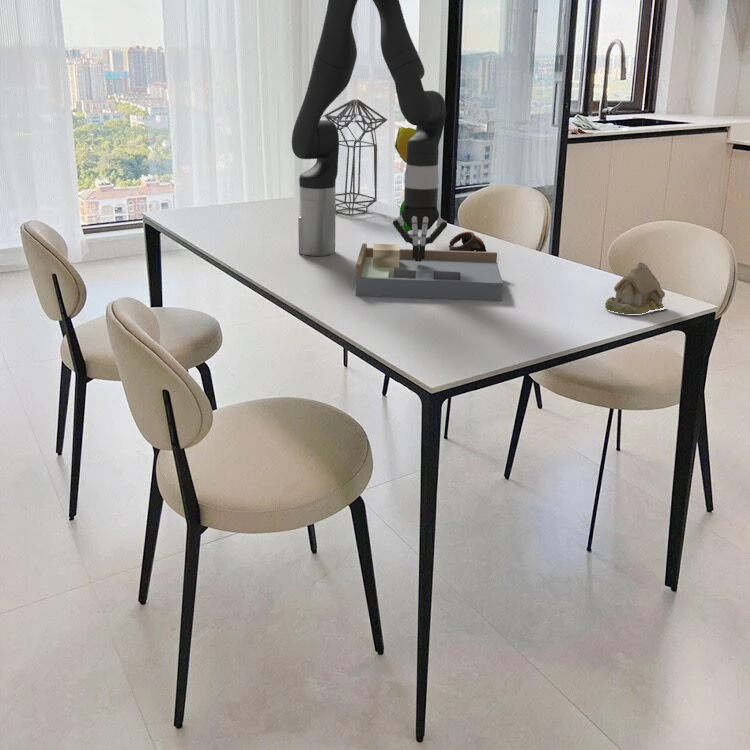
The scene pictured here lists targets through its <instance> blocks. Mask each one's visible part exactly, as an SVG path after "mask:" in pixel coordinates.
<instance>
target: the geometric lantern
mask: <svg viewBox="0 0 750 750" xmlns="http://www.w3.org/2000/svg"><path fill="white" fill-rule="evenodd" d="M339 110H341V111H340V112H339V113H338V114H337V115H331V114H334V113H336V112H337V111H339ZM371 112H372V113H373V114H375V115H377V116H378V117H380V118H376V117H375V116H374V115H373V114H372V113H371ZM363 113H364V114H365V115H363ZM357 116H359V117H361V120H360V119H359V120H357ZM324 117H325V120H329V121H332V122H333V123H334V124H335V125H336V127H337V130H338V131H339V132H340V134H341V136H342V139H343V140H339V146H342V147H346V148H347V155H346V170H345V184H344V185H345V187H344V188H345V189H344V192H342V193H336V195H335V202H340V203H335V213H336V214H338V213H339V214H342V215H345V216H355V215H363V214H367V213H368V211H369V209H368V208H369V207H370V206H372V205H373V204H374V203H376V202H377V201H378V197H377V196H378V195H377V194H378V193H377V192H378V191H377V189H378V188H377V187H378V186H377V185H378V184H377V183H378V182H377V181H378V179H377V178H378V176H377V175H378V144H377V135H376V134H377V133H376V130H377V129H378V128H380V127H381V126H382V125H383V124H385V122H387V121H388V118H387V117H384V116H383V115H381V114H380V113H379V112H377V111H376V110H374V109H373V108H372V107H370V106H368V105H367V104H366V103H364V102H363V101H361V100H360V99H357V98H356V99H355V98H353V99H351V100H350V101H349V100H348V101H347V102H346V103H344V104H342V105H340V106H338V107H337V108H335V109H332V110H331V111H329V112H327V113H326V114H323V115H322V117H321V118H324ZM343 118H345V119H343ZM349 118H350V119H349ZM354 119H355V120H354ZM366 119H367V120H369V122H367V120H366ZM340 123H344V124H340ZM351 123H355V124H356V125H357V126H358V127H359V128H360V129H361V131H362V133H361V135H360V136H359V137H358V139H357V138H356V136H354V134H353V132H352V130H351V129H350V127H349V125H350V124H351ZM360 123H362V124H363V126H362V125H361V124H360ZM377 123H378V124H377ZM373 125H374V127H373ZM366 126H367V127H366ZM344 128H347V129H348V130H349V132H350V134H351V136H352V137H353V138H354V139H350V140H349V139H346V137H345V134H344V133H343V131H342V130H343V129H344ZM366 133H370V134H371V140H372V142H368V141H362V139H363V137H364V136H365V135H366ZM348 142H353V145H349V143H348ZM341 143H345V144H341ZM357 143H359V144H358V145H357ZM362 143H363V144H368V145H362ZM364 147H366V148H367V147H369V148H370V147H373V172H374V173H373V175H374V179H373V180H374V196H370V195H367V194H363V193H360V192H361V191H360V190H361V187H360V186H361V159H362V157H361V156H362V155H361V152H362V148H364ZM350 148H352V163H351V176H350V185H349V192H348V179H349V178H348V177H349V161H350ZM356 148H358V177H357V178H358V180H357V181H358V182H357V183H358V184H357V192H356V191H355V189H356V187H355V186H356V184H355V182H356V177H355V175H356V174H355V173H356V167H355V164H356ZM347 195H348V196H349V201H347ZM351 195H352V196H351ZM336 196H344V200H342V199H339V198H336ZM358 196H361V197H365V198H369V200H360V201H359V200H357V198H358ZM351 197H352V198H351ZM370 199H371V200H370ZM356 200H357V201H356ZM363 203H368V204H363ZM342 205H345V206H342ZM351 205H352V206H351ZM355 205H359V206H360V207H354V206H355ZM361 206H362V207H361ZM337 207H340V208H341V209H337ZM364 209H365V210H364ZM345 210H348V213H347V212H341V211H345ZM354 210H356V211H361V212H357V213H354ZM351 211H352V213H351Z"/></svg>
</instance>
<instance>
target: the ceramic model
mask: <svg viewBox="0 0 750 750" xmlns="http://www.w3.org/2000/svg"><path fill="white" fill-rule="evenodd" d="M613 290H614V292H615V297H614V296H611V297H609V298H608V299H606V301H605V304H604V305H605V309H606V308H607V310H610V311H614V312H618V313H624V314H642V313H646V312H648V311H649V310H655V309H660V308H663V307H664V306H665V305H664V304H663V298H665V296H666V293H665V291H664V290H663V289H662V287H661V283H660V282H659V281H658V278H656V276H655V275H654V274H653V273H652V271H651V269H650V268H649V267H648V264H645V262H644V263H643V262H638V264H637V266H636V268H633V269H631V270H630V271H629V272H628V273H627V274H626V275H625V276H623V277H622V278H621V279H620V280H619V281H618V282H617V283H616V284H615V286H614V287H613ZM663 305H664V306H663ZM607 310H606V311H607Z"/></svg>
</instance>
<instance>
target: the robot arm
mask: <svg viewBox="0 0 750 750" xmlns="http://www.w3.org/2000/svg"><path fill="white" fill-rule="evenodd" d="M372 2H373V3H374V6H375V7H376V9H377V11H378V12H377V13H378V15H379V20H380V21H379V22H380V49H381V54H382V57H383V60H384V62H385V65H386V67H387V69H388V71H389V72H390V76H391V77H392V80H393V81H394V86H395V92H396V96H397V101H398V106H399V109H400V112H401V114H402V116H403V118H404V119H405V121H407V122H408V123H409V124H410V125H412V126H416V127H415V130H416V132H415V134H414V136H413V137H411V138H410V139H409V140H408V143H407V163H406V165H405V171H404V191H403V193H404V196H403V198H404V199H403V201H404V209H403V211H402V215H401V216H400V215H399V216H398V217H397V218H393V220H392V225H393V227H394V228H395V229H396V231H397V232H398V234H399V235H400V236H401V237H402V239H403V240H404V242H405V243H407V244H408V243H409V244H411V245H412V249H413V255H412V257H413V259H415V261H417V262H418V258H419V262H421V261H422V259H424V258H425V250H426V246H427V245H429V244H433V243H434V242H435V241H436V240H437V238H438V237H439V236H440V235H441V234H442V232H444V230H446V228H447V226H448V221H447V220H445V219H443V218H442V217H441V216H440V212H439V210H438V201H439V200H438V199H439V198H438V197H439V185H440V184H439V183H440V181H439V177H440V175H439V173H440V172H439V144H440V142H441V138H442V136H443V135H442V134H443V130H444V127H445V123H446V117H447V105H446V101H445V99H444V97H443V95H442V94H441V93H439V92H438V91H435V90H425V88H424V86H423V83H422V79H423V77H424V76H425V74H426V73H425V71H426V70H425V68H424V67H425V66H424V64H423V62H422V60H421V58H420V55H419V54H418V51H417V48H416V47H415V44H414V42H413V40H412V38H411V35H410V32H409V30H408V27H407V25H406V24H407V23H406V21H405V18H404V14H403V10H402V6H401V3H400V0H372ZM357 3H358V0H328V1H327V8H326V11H325V12H326V13H325V17H324V20H323V21H324V22H323V26H322V30H321V35H320V38H319V41H318V45H317V49H316V52H315V56H314V60H313V65H312V67H311V68H312V69H311V73H310V77H309V82H308V86H307V88H306V89H307V90H306V92H305V96H304V98H303V102H302V104H301V107H300V110H299V112H298V114H297V117H296V120H295V123H294V126H293V130H292V135H291V149H292V152H293V154H294V155H295V157H296V158H298V159H301V160H316V162H315V164H313V166H312V167H310V168H309V169H308V170H306V171H303V172H302V173H301V174H300V175H299V179H298V182H299V183H298V185H299V186H298V187H299V190H298V192H299V197H298V198H299V217H298V218H297V219H298V221H297V223H298V224H297V225H298V229H297V230H298V231H297V232H298V254H299V255H305V256H312V257H323V256H324V257H325V256H331V255H333V254H334V255H335V253H336V212H335V204H336V200H335V198H336V196H335V195H336V194H337V193H336V184H337V183H336V182H337V177H338V170H339V154H340V153H339V151H340V145H339V144H340V142H339V141H340V137H339V136H340V135H339V130H337V124H335V123H333V122H332V121H331V120H330V119H329V120H330V121H329V120H327V119H323V120H322V118H323V117H322V116H324V113H325V111H326V110H327V109H328V108H329V106H330V105H332V103H334V101H336V99H337V98H338V97H339V96H340V95H341V94H342V93H343V92H344V91H345V89H346V88H347V86H349V83H350V81H351V77H352V75H353V72H354V70H355V65H356V62H357V58H358V57H357V56H358V50H357V49H358V48H357V45H356V40H355V36H354V33H353V26H352V25H353V16H354V13H355V10H356V9H355V8H356V6H357ZM403 219H404V221H405V222H406V223H407V225H408V226H409V228H410V229H412V230H411V233H412V235H410V234H409V232H408V233H407V231H406V230H405V229H404V227H403V225H404V222H403ZM435 223H436V225H435V226H436V228H435V229H434V231H433V232H432V233H431V234H430V235H429V236H427V233H428V231H429V230H430V229H431V228H432V226H434V224H435ZM419 231H421V232H420V240H419Z"/></svg>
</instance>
